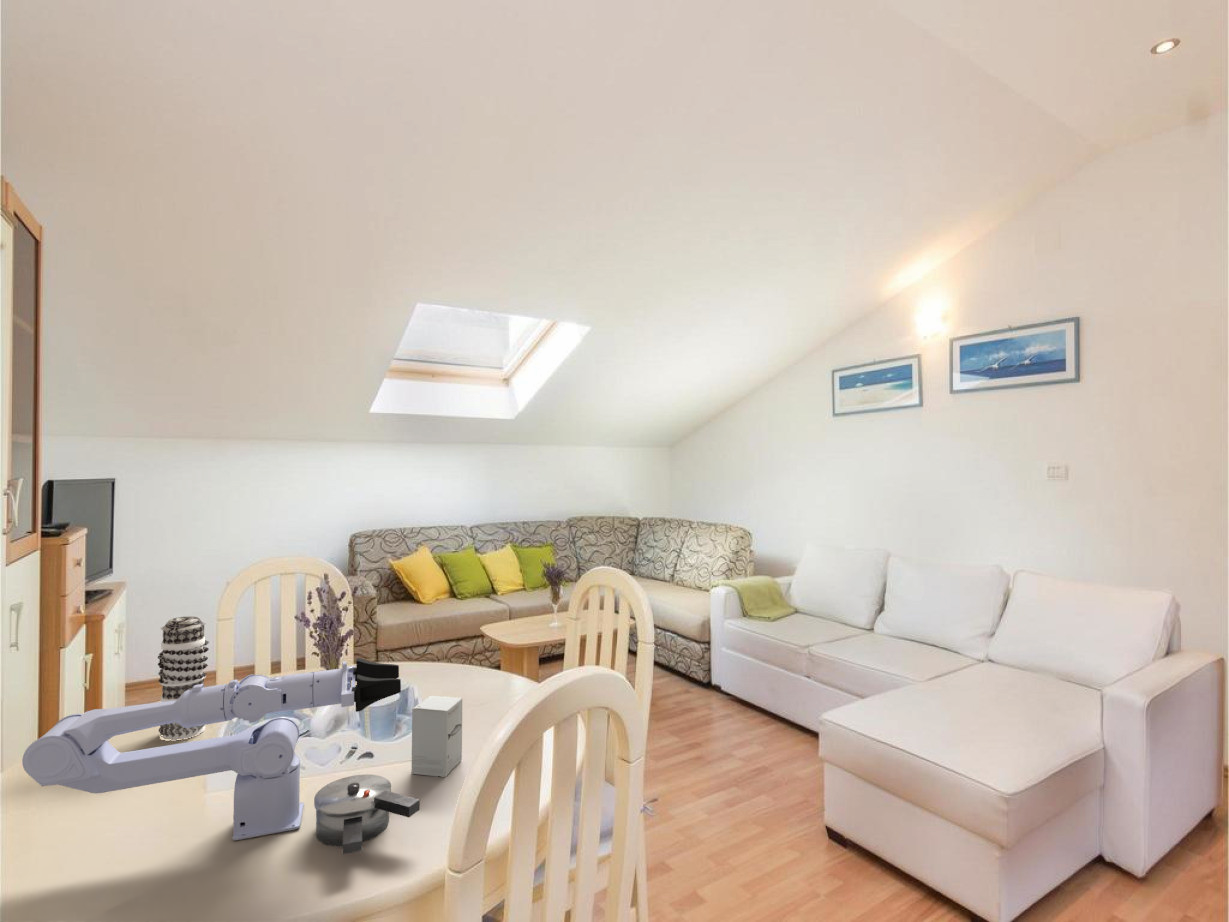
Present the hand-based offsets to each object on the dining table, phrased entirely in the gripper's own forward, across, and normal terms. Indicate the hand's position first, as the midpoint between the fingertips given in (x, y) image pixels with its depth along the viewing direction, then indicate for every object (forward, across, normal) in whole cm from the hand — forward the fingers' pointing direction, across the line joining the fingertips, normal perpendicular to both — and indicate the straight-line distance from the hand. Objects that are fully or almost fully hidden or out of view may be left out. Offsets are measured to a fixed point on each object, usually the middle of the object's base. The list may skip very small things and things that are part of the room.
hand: (399, 678), depth 112 cm
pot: (-8, -10, +21) cm, 24 cm away
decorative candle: (-44, +45, +21) cm, 66 cm away
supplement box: (+7, +10, +22) cm, 25 cm away
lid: (-5, -8, +16) cm, 19 cm away
